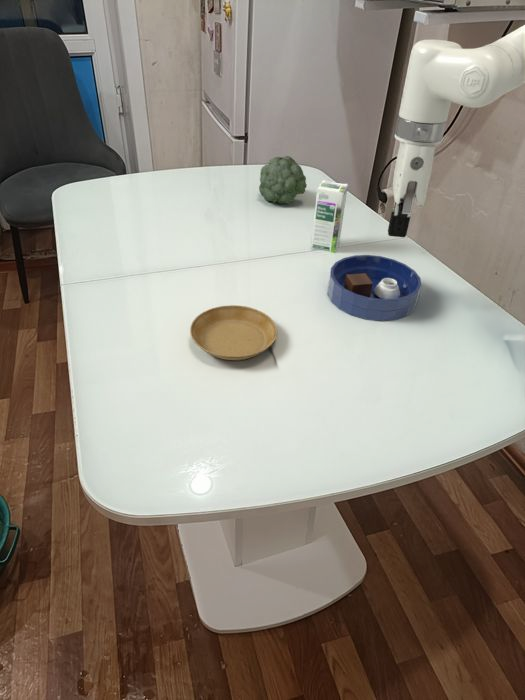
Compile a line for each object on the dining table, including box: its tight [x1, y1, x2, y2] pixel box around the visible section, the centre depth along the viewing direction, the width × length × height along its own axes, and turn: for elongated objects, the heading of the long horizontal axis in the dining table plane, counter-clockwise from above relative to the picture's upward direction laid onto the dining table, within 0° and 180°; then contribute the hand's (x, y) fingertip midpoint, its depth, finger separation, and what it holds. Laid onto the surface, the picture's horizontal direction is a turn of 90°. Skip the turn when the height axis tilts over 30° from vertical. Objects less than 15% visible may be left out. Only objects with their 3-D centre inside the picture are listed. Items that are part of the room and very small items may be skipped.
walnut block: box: [344, 273, 373, 298], centre depth 99 cm, size 4×4×4 cm
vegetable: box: [258, 155, 308, 205], centre depth 136 cm, size 12×13×15 cm
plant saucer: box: [189, 304, 278, 361], centre depth 87 cm, size 15×15×3 cm
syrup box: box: [310, 180, 349, 254], centre depth 113 cm, size 6×6×14 cm
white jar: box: [374, 278, 400, 299], centre depth 100 cm, size 5×3×5 cm
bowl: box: [327, 254, 422, 322], centre depth 99 cm, size 17×17×5 cm
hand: (396, 234), depth 94 cm, fingers closed
